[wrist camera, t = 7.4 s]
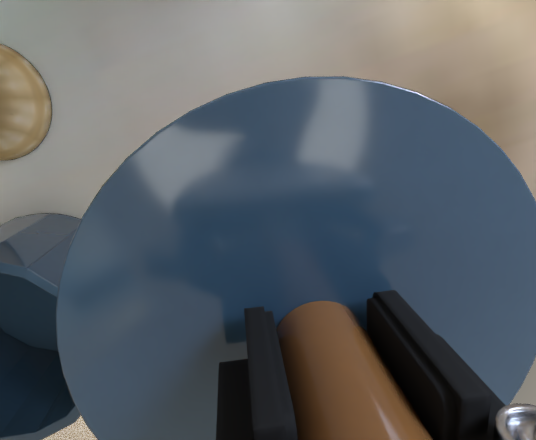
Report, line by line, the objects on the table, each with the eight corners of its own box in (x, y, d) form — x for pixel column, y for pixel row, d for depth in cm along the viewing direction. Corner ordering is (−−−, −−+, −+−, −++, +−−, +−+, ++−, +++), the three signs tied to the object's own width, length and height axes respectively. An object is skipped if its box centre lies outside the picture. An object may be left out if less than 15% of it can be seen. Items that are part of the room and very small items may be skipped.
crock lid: (11, 102, 9) (-389, 90, 3) (553, 59, 10) (1002, -10, 4) (123, 518, 13) (39, 847, 7) (500, 457, 14) (691, 703, 8)
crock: (-86, 227, 29) (-230, 280, 20) (155, 200, 30) (123, 239, 21) (-31, 367, 33) (-132, 467, 23) (180, 338, 34) (163, 422, 25)
